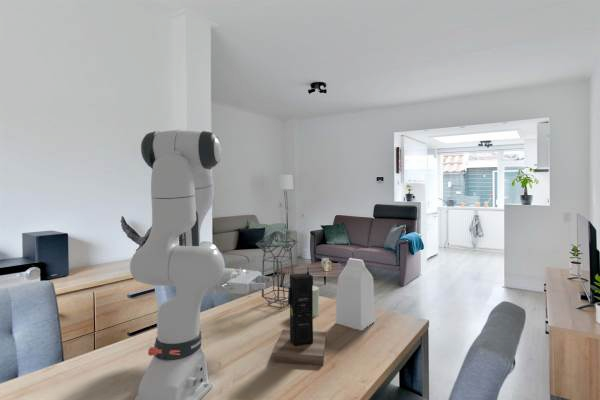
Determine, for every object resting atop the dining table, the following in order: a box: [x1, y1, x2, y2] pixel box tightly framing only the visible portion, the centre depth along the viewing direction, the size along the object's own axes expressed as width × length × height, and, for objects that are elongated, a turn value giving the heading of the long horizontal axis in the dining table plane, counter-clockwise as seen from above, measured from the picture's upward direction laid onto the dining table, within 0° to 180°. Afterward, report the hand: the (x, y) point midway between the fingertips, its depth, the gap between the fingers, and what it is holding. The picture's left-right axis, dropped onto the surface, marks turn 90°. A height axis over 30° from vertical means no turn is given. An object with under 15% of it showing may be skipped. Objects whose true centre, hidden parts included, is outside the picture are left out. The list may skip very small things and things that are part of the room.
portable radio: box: [287, 266, 314, 346], centre depth 116 cm, size 8×6×25 cm
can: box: [313, 285, 320, 318], centre depth 150 cm, size 9×9×12 cm
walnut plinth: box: [272, 329, 327, 366], centre depth 117 cm, size 18×16×3 cm
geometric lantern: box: [255, 230, 299, 309], centre depth 163 cm, size 16×16×35 cm
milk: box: [335, 257, 376, 331], centre depth 141 cm, size 12×12×26 cm
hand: (268, 282), depth 118 cm, fingers open, 8 cm apart
